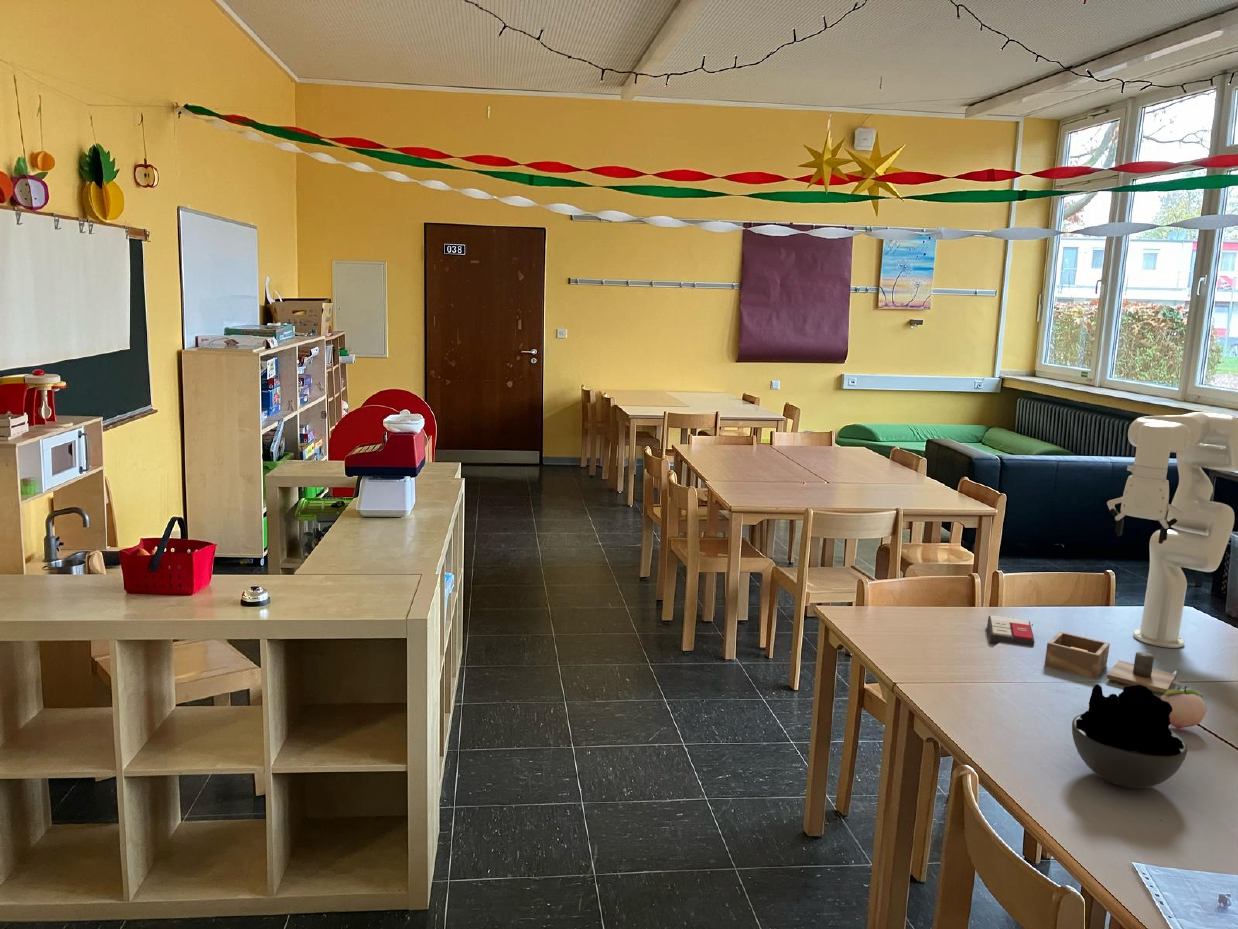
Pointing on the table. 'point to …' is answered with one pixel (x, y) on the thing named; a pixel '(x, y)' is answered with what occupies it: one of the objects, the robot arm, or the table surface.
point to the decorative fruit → (1185, 707)
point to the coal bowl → (1129, 738)
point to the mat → (1112, 682)
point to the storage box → (1077, 654)
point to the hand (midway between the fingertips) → (1139, 539)
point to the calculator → (1009, 631)
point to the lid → (1142, 674)
